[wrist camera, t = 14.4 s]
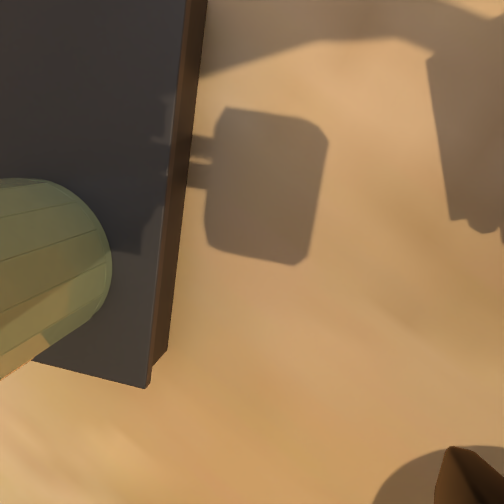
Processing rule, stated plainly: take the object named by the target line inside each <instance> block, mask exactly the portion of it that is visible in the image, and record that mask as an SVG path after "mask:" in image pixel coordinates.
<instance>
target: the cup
mask: <svg viewBox="0 0 504 504" xmlns="http://www.w3.org/2000/svg"><path fill="white" fill-rule="evenodd" d="M111 278H112V256H111V250H110V246H109V242H108V239H107V237H106V234H105V231H104V229H103V227H102V225H101V223H100V222H99V220H98V219H97V217H96V216H95V214H94V213H93V211H92V210H91V209H90V208H89V207H88V205H87V204H86V203H85V202H83V201H82V200H81V199H80V198H79V197H78V196H77V195H75V194H74V193H73V192H71V191H70V190H68V189H66V188H64V187H63V186H61V185H59V184H56V183H54V182H51V181H47V180H43V179H37V178H19V177H18V178H6V179H0V381H1V380H3V379H4V378H6V377H7V376H8V375H10V374H11V373H13V372H14V371H16V370H17V369H19V368H20V367H22V366H23V365H25V364H26V363H28V362H29V361H31V360H32V359H34V358H35V357H37V356H38V355H40V354H41V353H43V352H44V351H46V350H47V349H49V348H50V347H52V346H53V345H54V344H56V343H57V342H59V341H60V340H62V339H63V338H65V337H66V336H68V335H69V334H71V333H72V332H73V331H75V330H76V329H78V328H79V327H80V326H82V325H83V324H85V323H86V322H88V321H89V320H90V319H91V318H92V317H93V316H94V315H95V314H96V313H97V312H98V311H99V309H100V308H101V306H102V305H103V303H104V301H105V299H106V297H107V294H108V291H109V288H110V284H111Z"/></svg>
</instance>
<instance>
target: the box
mask: <svg viewBox="0 0 504 504" xmlns="http://www.w3.org/2000/svg"><path fill="white" fill-rule="evenodd" d="M206 8H207V0H0V179H6V178H18V177H19V178H37V179H43V180H47V181H51V182H54V183H56V184H59V185H61V186H63V187H64V188H66V189H68V190H70V191H71V192H73V193H74V194H75V195H77V196H78V197H79V198H80V199H81V200H82V201H83V202H85V203H86V204H87V205H88V207H89V208H90V209H91V210H92V211H93V213H94V214H95V216H96V217H97V219H98V220H99V222H100V223H101V225H102V227H103V229H104V231H105V234H106V237H107V239H108V242H109V246H110V250H111V256H112V278H111V284H110V288H109V291H108V294H107V297H106V299H105V301H104V303H103V305H102V306H101V308H100V309H99V311H98V312H97V313H96V314H95V315H94V316H93V317H92V318H91V319H90V320H89V321H88V322H86V323H85V324H83V325H82V326H80V327H79V328H78V329H76V330H75V331H73V332H72V333H71V334H69V335H68V336H66V337H65V338H63V339H62V340H60V341H59V342H57V343H56V344H54V345H53V346H52V347H50V348H49V349H47V350H46V351H44V352H43V353H41V354H40V355H38V356H37V357H35V358H34V359H32V360H31V361H35V362H39V363H43V364H47V365H51V366H55V367H59V368H63V369H67V370H71V371H75V372H79V373H83V374H87V375H91V376H95V377H98V378H102V379H106V380H110V381H114V382H118V383H122V384H126V385H130V386H134V387H138V388H142V389H146V387H147V386H148V385H149V384H150V381H151V372H152V366H153V365H154V364H155V363H156V362H157V361H158V360H159V358H160V357H161V356H162V355H163V354H164V353H165V352H166V351H167V347H168V338H169V329H170V321H171V312H172V303H173V295H174V286H175V277H176V269H177V260H178V251H179V242H180V234H181V225H182V216H183V208H184V199H185V190H186V182H187V173H188V164H189V156H190V147H191V138H192V130H193V121H194V112H195V104H196V95H197V86H198V78H199V69H200V60H201V52H202V43H203V34H204V26H205V17H206Z"/></svg>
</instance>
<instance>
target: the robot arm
mask: <svg viewBox="0 0 504 504" xmlns="http://www.w3.org/2000/svg"><path fill="white" fill-rule="evenodd" d="M434 504H504V477H503V476H502V475H500V474H499V473H498V472H497V471H496V470H495V469H494V468H492V467H491V466H490V465H489V464H488V463H487V462H486V461H484V460H483V459H482V458H481V457H480V456H479V455H478V454H476V453H475V452H473V451H471V450H467V449H463V448H459V447H455V446H451V447H449V448H448V449H447V450H446V452H445V455H444V458H443V462H442V465H441V469H440V472H439V476H438V479H437V482H436V486H435V493H434Z"/></svg>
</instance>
